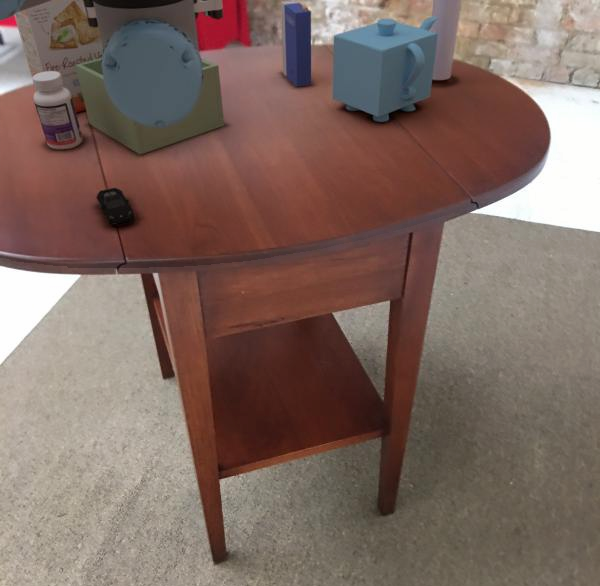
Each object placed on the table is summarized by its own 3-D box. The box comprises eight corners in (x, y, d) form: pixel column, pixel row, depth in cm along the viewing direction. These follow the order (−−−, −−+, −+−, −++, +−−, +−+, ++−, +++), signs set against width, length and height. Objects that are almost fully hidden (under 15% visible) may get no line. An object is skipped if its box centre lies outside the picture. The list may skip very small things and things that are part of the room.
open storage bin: (140, 155, 94) (127, 91, 88) (89, 124, 102) (74, 64, 96) (224, 125, 101) (218, 65, 95) (170, 99, 110) (161, 42, 103)
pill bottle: (60, 134, 100) (41, 67, 93) (89, 137, 99) (73, 71, 92) (40, 148, 96) (19, 80, 90) (70, 152, 95) (51, 83, 88)
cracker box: (57, 121, 104) (14, -31, 89) (40, 111, 107) (-4, -37, 92) (131, 98, 110) (102, -46, 95) (113, 89, 113) (83, -52, 99)
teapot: (389, 132, 98) (397, 40, 89) (322, 104, 107) (322, 17, 98) (463, 102, 107) (477, 15, 97) (395, 78, 115) (402, -4, 106)
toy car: (137, 223, 80) (134, 208, 78) (110, 230, 79) (106, 214, 77) (122, 196, 85) (118, 181, 84) (96, 202, 84) (92, 187, 83)
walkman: (311, 85, 113) (311, 8, 105) (296, 87, 113) (295, 10, 104) (297, 71, 119) (295, -3, 110) (282, 73, 118) (280, -1, 110)
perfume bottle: (454, 86, 112) (474, -51, 98) (421, 85, 112) (437, -51, 98) (452, 74, 116) (471, -58, 102) (420, 74, 116) (435, -59, 102)
